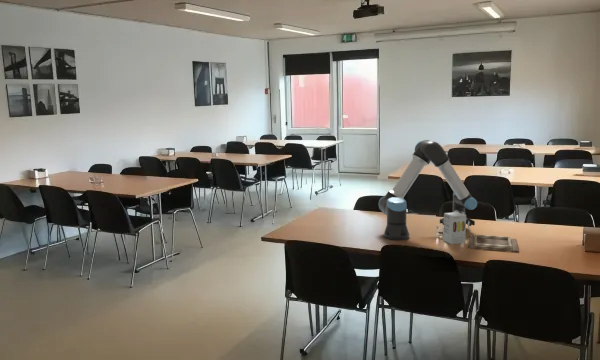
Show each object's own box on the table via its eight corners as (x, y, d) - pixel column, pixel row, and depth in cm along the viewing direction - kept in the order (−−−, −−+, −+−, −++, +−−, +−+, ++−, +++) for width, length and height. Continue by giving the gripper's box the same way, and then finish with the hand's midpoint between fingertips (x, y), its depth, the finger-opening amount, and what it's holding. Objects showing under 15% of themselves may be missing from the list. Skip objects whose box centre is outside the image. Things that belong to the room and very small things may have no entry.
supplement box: (451, 244, 292) (451, 216, 290) (442, 240, 301) (443, 212, 298) (465, 243, 295) (466, 214, 292) (456, 239, 304) (457, 211, 301)
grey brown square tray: (467, 248, 284) (467, 244, 284) (469, 237, 306) (469, 233, 306) (518, 252, 275) (518, 247, 275) (515, 240, 298) (516, 236, 297)
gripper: (478, 224, 317) (478, 232, 297) (437, 221, 325) (434, 230, 305) (479, 212, 315) (479, 220, 296) (437, 210, 324) (434, 217, 304)
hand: (456, 225), depth 300 cm, fingers open, 13 cm apart
